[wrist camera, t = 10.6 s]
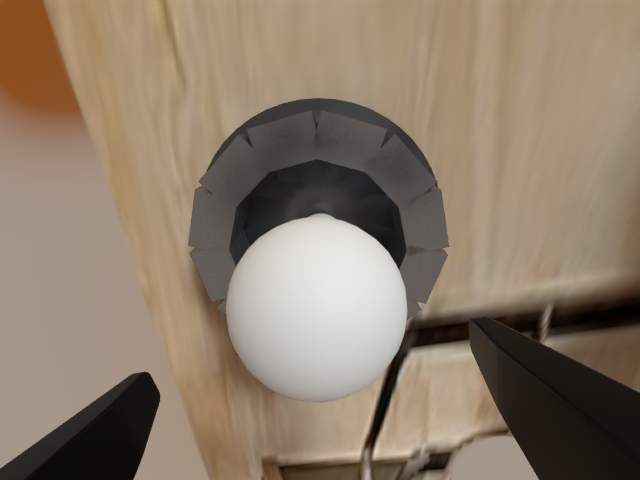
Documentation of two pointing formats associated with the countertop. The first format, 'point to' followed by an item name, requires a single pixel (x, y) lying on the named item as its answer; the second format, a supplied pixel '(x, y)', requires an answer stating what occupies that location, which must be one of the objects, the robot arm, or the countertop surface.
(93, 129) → the countertop surface
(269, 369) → the lightbulb
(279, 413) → the countertop surface
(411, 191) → the socket
